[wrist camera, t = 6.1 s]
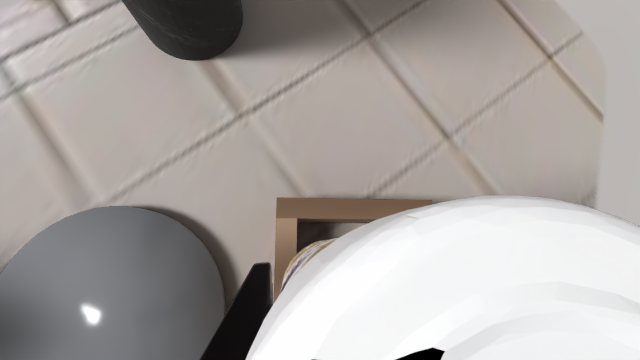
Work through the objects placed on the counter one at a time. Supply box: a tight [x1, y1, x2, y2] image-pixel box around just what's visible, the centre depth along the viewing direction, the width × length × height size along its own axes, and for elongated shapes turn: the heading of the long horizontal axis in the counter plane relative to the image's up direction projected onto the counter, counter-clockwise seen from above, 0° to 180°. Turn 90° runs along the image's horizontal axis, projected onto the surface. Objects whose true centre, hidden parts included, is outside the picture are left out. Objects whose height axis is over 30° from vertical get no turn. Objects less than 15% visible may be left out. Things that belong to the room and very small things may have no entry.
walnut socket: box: [274, 198, 432, 303], centre depth 20 cm, size 9×9×3 cm
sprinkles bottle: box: [246, 195, 640, 360], centre depth 8 cm, size 5×5×13 cm
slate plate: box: [0, 206, 226, 360], centre depth 19 cm, size 13×13×1 cm
